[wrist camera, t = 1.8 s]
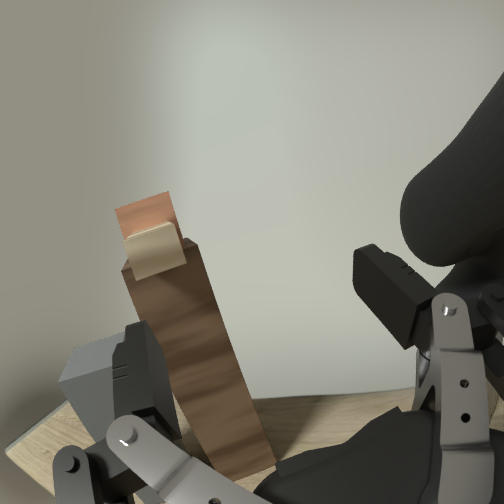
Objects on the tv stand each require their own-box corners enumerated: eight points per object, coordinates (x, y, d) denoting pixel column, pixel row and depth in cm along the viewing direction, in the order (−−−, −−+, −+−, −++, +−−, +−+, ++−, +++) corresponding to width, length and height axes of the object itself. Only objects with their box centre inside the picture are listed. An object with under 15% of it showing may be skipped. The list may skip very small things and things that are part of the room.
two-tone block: (199, 258, 24) (175, 180, 23) (123, 285, 22) (97, 206, 21) (180, 241, 39) (166, 194, 38) (134, 257, 38) (119, 209, 36)
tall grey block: (198, 493, 35) (119, 363, 31) (147, 506, 33) (57, 382, 29) (187, 451, 45) (125, 331, 40) (143, 464, 43) (74, 348, 38)
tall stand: (277, 463, 38) (197, 244, 32) (224, 484, 36) (121, 271, 30) (255, 426, 48) (186, 237, 41) (210, 443, 46) (128, 257, 39)
